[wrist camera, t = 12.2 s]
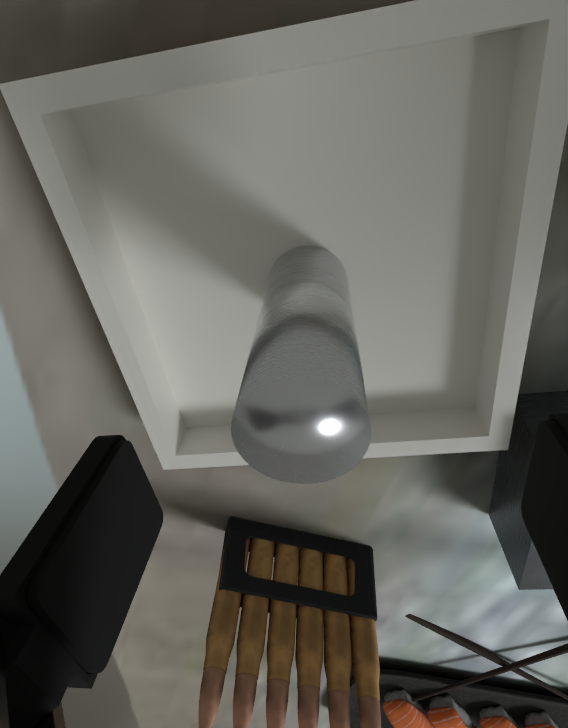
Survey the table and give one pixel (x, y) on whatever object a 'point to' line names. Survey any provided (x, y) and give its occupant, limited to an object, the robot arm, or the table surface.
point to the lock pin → (303, 375)
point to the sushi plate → (464, 696)
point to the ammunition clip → (293, 625)
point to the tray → (316, 207)
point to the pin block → (521, 488)
